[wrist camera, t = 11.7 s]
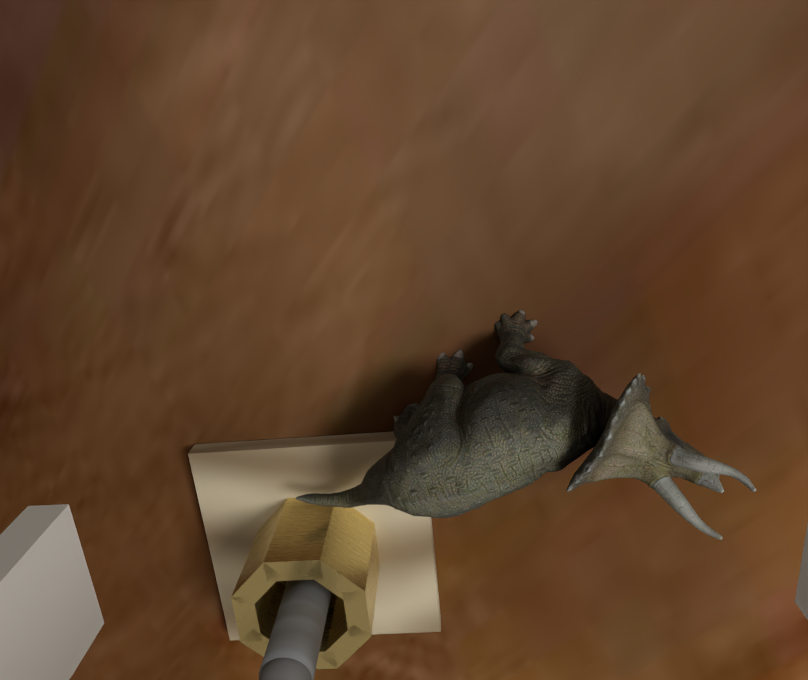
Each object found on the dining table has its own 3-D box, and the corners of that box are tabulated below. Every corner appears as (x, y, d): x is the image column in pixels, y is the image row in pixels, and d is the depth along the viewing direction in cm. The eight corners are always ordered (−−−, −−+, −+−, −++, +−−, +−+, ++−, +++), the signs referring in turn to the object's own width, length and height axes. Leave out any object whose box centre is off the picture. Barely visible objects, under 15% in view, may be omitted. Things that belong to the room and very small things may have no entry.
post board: (194, 444, 40) (96, 582, 28) (423, 429, 39) (419, 566, 28) (235, 626, 45) (164, 811, 33) (440, 618, 44) (443, 804, 32)
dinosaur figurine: (312, 480, 41) (271, 609, 31) (274, 356, 38) (215, 451, 28) (671, 417, 39) (761, 534, 28) (657, 280, 36) (751, 352, 25)
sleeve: (253, 499, 40) (223, 564, 34) (371, 493, 39) (360, 557, 34) (271, 596, 42) (246, 671, 37) (383, 591, 42) (375, 666, 36)
